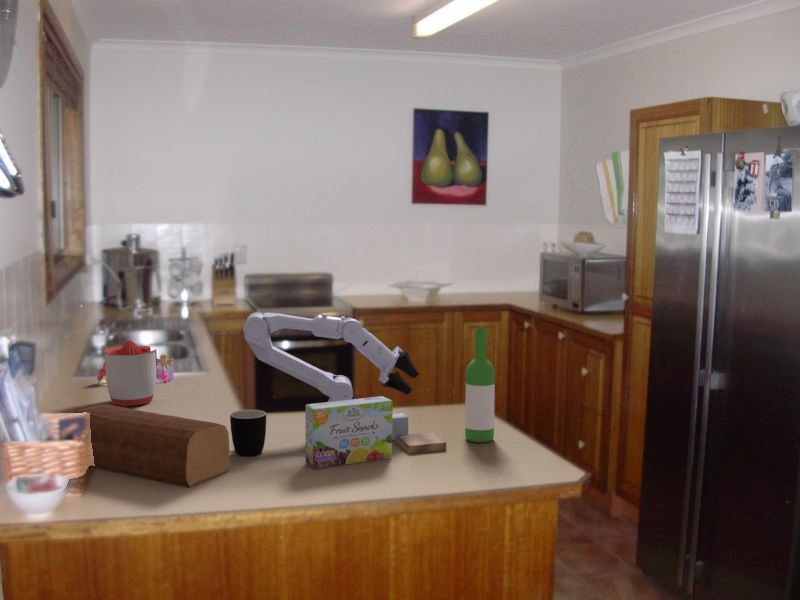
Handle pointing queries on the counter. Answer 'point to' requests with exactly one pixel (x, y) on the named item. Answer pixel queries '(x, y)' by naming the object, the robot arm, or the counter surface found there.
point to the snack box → (348, 431)
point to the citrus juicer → (131, 374)
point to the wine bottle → (479, 393)
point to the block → (399, 425)
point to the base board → (421, 442)
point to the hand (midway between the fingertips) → (413, 384)
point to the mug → (248, 431)
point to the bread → (157, 445)
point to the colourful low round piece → (162, 371)
